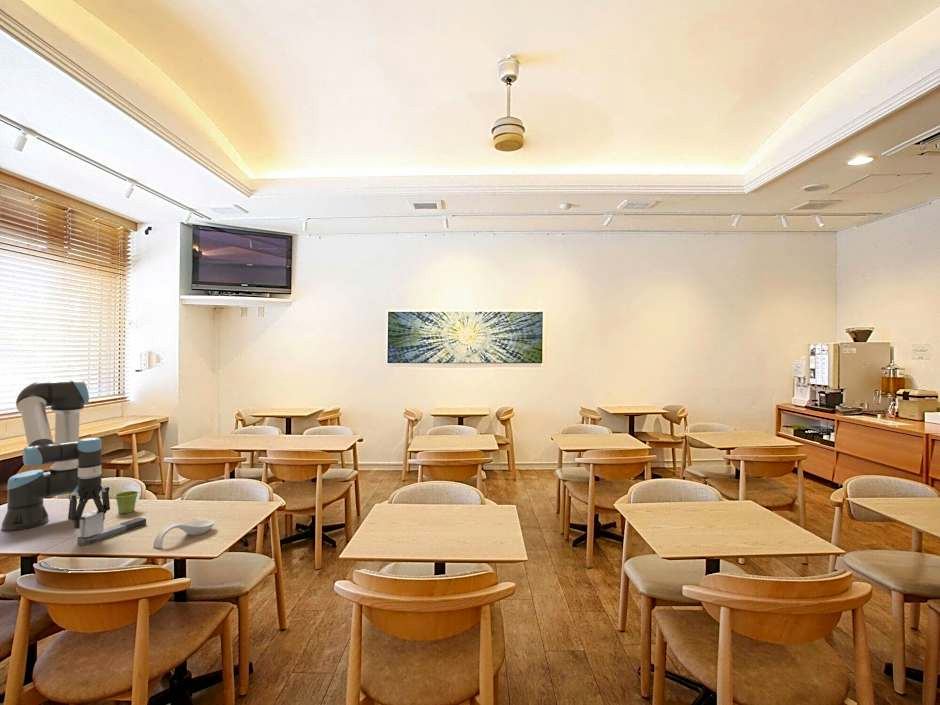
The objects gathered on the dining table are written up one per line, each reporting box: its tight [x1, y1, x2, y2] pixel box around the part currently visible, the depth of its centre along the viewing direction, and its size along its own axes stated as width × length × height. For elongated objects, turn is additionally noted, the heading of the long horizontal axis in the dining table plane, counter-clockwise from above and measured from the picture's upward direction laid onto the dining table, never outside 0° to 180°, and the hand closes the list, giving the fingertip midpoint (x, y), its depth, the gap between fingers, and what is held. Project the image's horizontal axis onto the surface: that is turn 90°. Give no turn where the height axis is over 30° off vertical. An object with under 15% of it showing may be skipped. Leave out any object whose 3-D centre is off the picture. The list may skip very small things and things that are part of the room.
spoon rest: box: [152, 519, 215, 549], centre depth 192 cm, size 24×12×7 cm, turn 158°
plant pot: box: [114, 490, 139, 514], centre depth 223 cm, size 9×9×9 cm
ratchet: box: [77, 516, 147, 546], centre depth 196 cm, size 24×5×6 cm, turn 158°
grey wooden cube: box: [81, 509, 105, 537], centre depth 188 cm, size 6×6×8 cm
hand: (89, 532), depth 188 cm, fingers closed on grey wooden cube, 6 cm apart
